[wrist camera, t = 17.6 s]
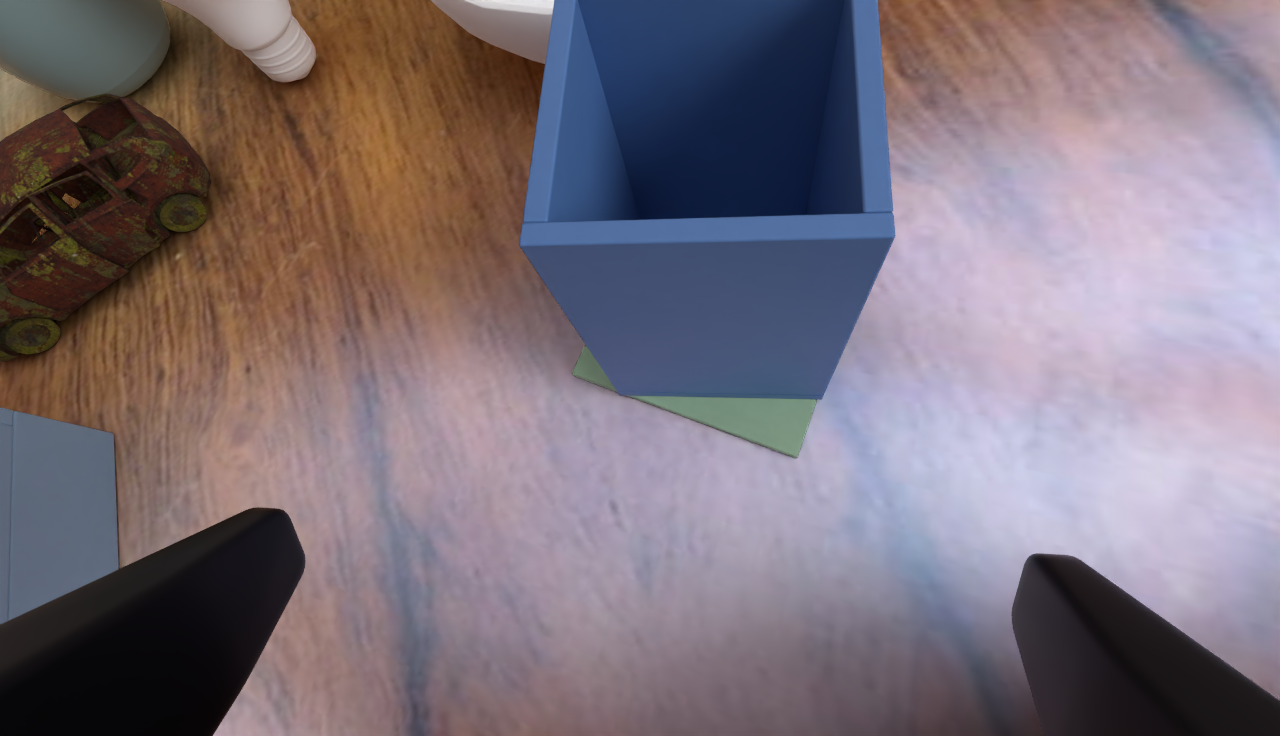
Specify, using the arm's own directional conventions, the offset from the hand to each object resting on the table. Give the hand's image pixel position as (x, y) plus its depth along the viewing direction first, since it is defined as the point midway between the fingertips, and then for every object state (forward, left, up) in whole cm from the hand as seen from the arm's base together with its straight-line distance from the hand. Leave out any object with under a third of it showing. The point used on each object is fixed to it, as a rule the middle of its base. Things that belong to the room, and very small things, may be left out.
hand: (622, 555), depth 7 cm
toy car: (+2, +29, -12) cm, 31 cm away
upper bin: (+8, +2, -12) cm, 15 cm away
